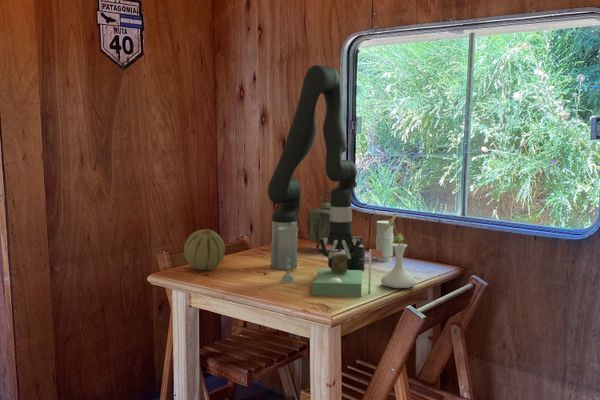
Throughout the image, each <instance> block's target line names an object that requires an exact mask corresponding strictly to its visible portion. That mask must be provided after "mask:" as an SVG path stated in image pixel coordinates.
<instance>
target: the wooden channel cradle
mask: <svg viewBox="0 0 600 400" xmlns="http://www.w3.org/2000/svg"><path fill="white" fill-rule="evenodd" d="M334 271H344V272H347V255H346V253H337V252H336V253H335V252H334V253H333V255H332V271H331V272H334Z"/></svg>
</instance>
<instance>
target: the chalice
mask: <svg viewBox="0 0 600 400" xmlns="http://www.w3.org/2000/svg"><path fill="white" fill-rule="evenodd" d="M278 229H279V231H280V246H281V249H282V251H283V253H284V255H286V256H287V261H286V262H287V266H286V268H287V270H286V272H285V273H284V274H283V275H282V278H281V280H280V282H281V283H284V284H294V283H296V280H295V279H296V278H295V275H293V274H292V273H291V269H290V268H291V267H290V262H291V261H290V256H291V255H293V253H294V250H295V248H296V245H297V246H298V234H299V233H298V231H299V230H300V228H299V227H298V226H297V227H280V228H278Z"/></svg>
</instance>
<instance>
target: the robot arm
mask: <svg viewBox="0 0 600 400" xmlns="http://www.w3.org/2000/svg"><path fill="white" fill-rule="evenodd" d="M341 89H342V88H341V77H340V74H339V72H338V70H336V68H334V67H331V66H327V65H321V64H320V65H319V64H315V65H311V66H310V67H309V68H308V69H307V71H306V73H305V75H304V78H303V82H302V86H301V91H300V94H299V100H298V103H297V107H296V110H295V113H294V116H293V120H292V122H291V125H290V128H289V131H288V133H287V137H286V139H285V140H286V141H285V143H284V145H283V150H282V151H281V155H280V157H279V161H278V162H277V165H276V167H275V170H274V171H273V173H272V176H271V178H270V181H269V182H268V185H267V186H268V187H267V197H268V199H269V201H271V203H274V204H279V207H277V209H276V210H275V211H274V212H273V213H272V215H271V218H272V219H271V224H272V225H271V234H272V235H271V242H270V268H271V269H276V270H283V271H284V270H286V271H287V268H286V266H287V262H286V261H287V256H286V255H284V253H283V251H282V249H281V246H280V231H279V229H278V228H280V227H298V216H299V214H300V210H301V209H300V208H301V195H302V194H301V193H302V192H301V186H300V182H299V181H298V179H297V178H295V177H294V176H293V175H294V173H295V171H296V169H297V168H298V166H299V165H300V164H301V163H302V161H303V160H304V159H305V158H306V157H307V156H308V154H309V152H310V151H311V150H312V147H313V144H314V141H315V139H316V135H317V131H318V130H317V120H316V108H317V104H318V101H319V98H320V96H321V95H323V98H324V100H325V117H324V119H323V126H322V131H323V132H322V133H323V134H322V135H323V138H324V144H325V150H326V151H325V174H326V176H327V178H328V179H329V180H330V181H332V182H338V184H337V186H336V187H335V188H333V189H332V190H331V191H330V192H331V194H329V195H330V199H329V200H330V202H329V203H330V213H329V236H328V238H321V239H320V244H319V245H320V247H321V249H322V251H321V253H322V256H323V257H325V258H326V257H327V259H328V260H327V261H328V262H327V264H328V265H327V266H328V268H329V269H332V255H333V253H335V251H336V250H338V249H342V250H341V251H343V250H344V252H345V254H346V255H347V270H349V268H350V267H351V258H353V257H356V255H357V252H358V248H359V244H360V240H359V239H353V237H352V236H353V235H352V228H353V227H352V226H353V225H352V223H353V222H352V221H353V212H352V193H353V191H354V187H355V183H356V179H357V175H358V174H357V167H356V165H355V163H354V162H353V160H350V159H342V158H341V157H342V153H343V154H344V153H346V151H347V150H348V145H347V144H348V143H347V138H346V134H345V129H344V125H343V124H344V123H343V117H342V116H343V114H342V94H341V93H342V91H341ZM327 241H329V243H330V244H329V245H330V246H331V249H330V251H329V252H328V251H327V246H326V245H328V244H327ZM351 242H353V244H354V245H355V248H354V252H353V253H352V254H351V253H350V250H349V247H348V246H349V245H350V243H351ZM290 261H291V262H290V267H291V268H290V270H294V269H297V268H298V244H297V245H296V248H295V250H294V253H293V255H291V256H290Z"/></svg>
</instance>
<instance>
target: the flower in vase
mask: <svg viewBox="0 0 600 400" xmlns="http://www.w3.org/2000/svg"><path fill="white" fill-rule="evenodd" d="M397 214H398V212H393V214H392V217H391V218H389V219H388V221H389V223H388V224H387V225H386V226H385V229H384V230H383V231H384V233H385V232H386V231H387V230H388V229H389V227H390V226H391V225H393V229H394V230H395V232H396V236H395V237H394V240H393V243H394V244H392V246H393V251H394V257H395V262H394V263H395V264H394V267H393V268H392V269H391V270H389V271H388V272H387V273H385V274H384V275H383V276H382V277H381V279H380V282H381V284H382V285H384V286H386V287H389V288H392V289H393V288H395V289H407V288H411V287H414V286H415V285H416V284H417V281H416V279H415V277H414V276H413V275H412V274H411V273H409V271H407V270H406V269H405V268H404V264H403V257H404V251H406V248H407V247H408V244H406V243H401V242H402V241H404V236H403V235H402V232H399V233H398V230H397V227H396V225H395V222H394V221H395V219H396V217H397ZM396 242H397V243H396Z"/></svg>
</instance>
